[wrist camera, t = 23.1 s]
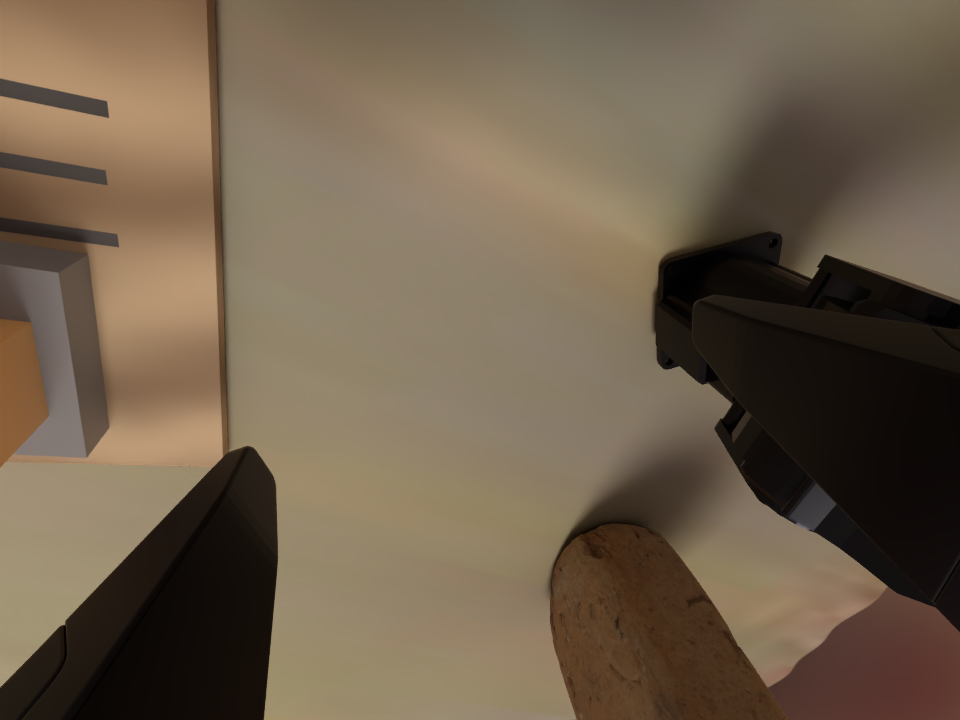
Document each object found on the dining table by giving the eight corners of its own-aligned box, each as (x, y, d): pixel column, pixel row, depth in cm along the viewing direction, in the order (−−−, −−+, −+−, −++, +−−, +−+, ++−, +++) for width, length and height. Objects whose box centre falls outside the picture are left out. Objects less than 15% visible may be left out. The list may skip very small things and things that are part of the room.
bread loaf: (577, 510, 32) (818, 987, 15) (666, 515, 34) (959, 931, 17) (525, 610, 37) (664, 1059, 20) (606, 608, 39) (792, 1007, 22)
